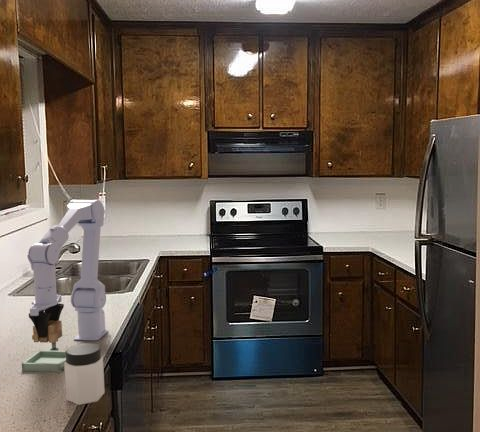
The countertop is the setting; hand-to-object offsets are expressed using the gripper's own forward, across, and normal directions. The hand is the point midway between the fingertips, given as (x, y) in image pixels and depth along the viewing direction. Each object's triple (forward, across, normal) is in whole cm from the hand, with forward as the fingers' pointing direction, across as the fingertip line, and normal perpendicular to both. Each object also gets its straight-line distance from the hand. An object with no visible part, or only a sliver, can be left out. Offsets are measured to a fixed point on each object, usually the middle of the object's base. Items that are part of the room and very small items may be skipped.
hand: (48, 333), depth 151 cm
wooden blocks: (+2, 0, 0) cm, 2 cm away
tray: (+8, +1, 0) cm, 9 cm away
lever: (+8, -9, -3) cm, 13 cm away
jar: (+9, +20, +19) cm, 29 cm away
